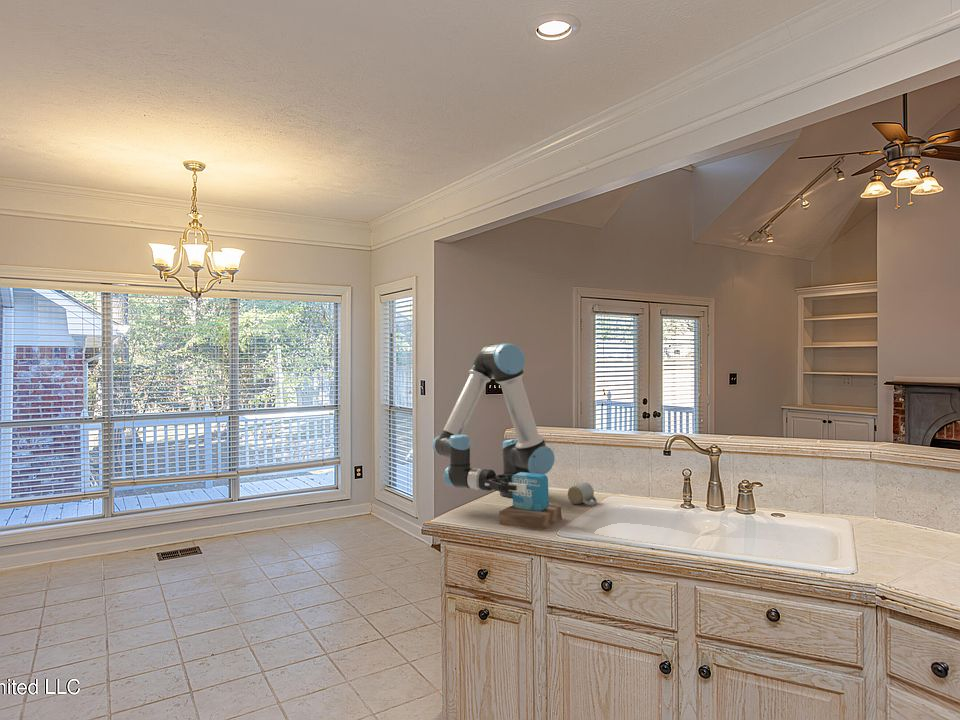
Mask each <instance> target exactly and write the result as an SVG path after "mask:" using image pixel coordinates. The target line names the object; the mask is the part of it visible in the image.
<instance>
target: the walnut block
mask: <svg viewBox="0 0 960 720" xmlns="http://www.w3.org/2000/svg"><path fill="white" fill-rule="evenodd" d="M498 515H499V525H501V524H502V525H503V526H510V527H516V528H522V529H529V530H530V529H531V530H538V531H543V530H545V529H547V528H548V527H550V526H552V525H554V524H555V523H557V522H558V521H560V520H561V519H562V505H554V504H549V506H548V508H546V509H544V510H543V511H532V510H524V509H517V508H515V507H514V506H513V504H512V505H509V506H508V507H506V508H504V509H501V510H499V514H498ZM502 525H501V526H502Z"/></svg>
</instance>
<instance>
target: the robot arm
mask: <svg viewBox="0 0 960 720" xmlns="http://www.w3.org/2000/svg"><path fill="white" fill-rule="evenodd" d="M525 360H526V358H525V354H524V351H523V350H522V349H521V348H520V347H519V346H517V345H516V344H512V343H509V342H508V343H506V342H503V343H492V344H488V345H486V346H484V347H483V348H482V349H480V350H479V352H478V353H477V355H476V357H475V358H474V360H473V362H472V363H471V366H470V368H469V370H468V373H469V375H468V377H467V380H466V382H465V384H464V386H463V388H462V390H461V392H460V394H459V396H458V399H457V401H456V403H455V405H454V407H453V408H452V411H451V413H450V416H449V417H448V419H447V422H446V423H445V426H444V428H443V430H442V431H441V434H440V435H437V436H436V437H434V439H433V441H432V449H433V451H434V452H435V453H436V454H437V455H439V456H442V457H445V458H449V463H450V464H449V466H447V467H446V468H445V469H444V473H443V481H444V484H445V485H446V486H450V487H454V488H460V489H461V488H462V489H471V490H474V491H477V492H478V490H482V491H492V490H494V491H496V492H499V494H500V496H502V497H505V496H506V498H512V497H513V495H512V491H514V492H523V493H526V492H527V491H526V484H518V483H512V476H513V475H515V474H517V473H520V472H525V473H536V474H545V475H547V474H548V473H549V472H550V471H551V470H552V469H553V466H554V465H555V459H556V457H555V453H554V451H553V450H552V448H551V447H549V446H547V445H546V441H545V438H544V436H542V435H540V434H539V431H538V428H537V424H536V422H535V418H534V414H533V411H532V409H531V405H530V402H529V398H528V395H527V392H526V389H525V386H524V382H523V376H524V374H525V373H524V367H525V366H524V365H525V364H526V361H525ZM492 378H493V379H494V381H495V383H497V384H499V385H500V387H501V390H502V394H503V397H504V401H505V403H506V408H507V409H508V413H509V416H510V420H511V422H512V425H513V426H512V427H513V429H514V432H515V436H516V438H513V439H506V440H504V441H503V442H502V462H503V463H502V464H503V465H502V466H503V467H502V469H503V471H502V472H503V473H502V474H496V472H495V471H494V469H488V468H487V469H486V468H477V467H471V443H470V437H469V435H467V434H463V432H464V431H465V429H466V427H467V425H468V423H469V420H470V418H471V417H472V414H473V412H474V409H475V408H476V406H477V404H478V402H479V400H480V397H481V396H482V393H483V391H484V389H485V387H486V385H487V383H490V382H491V381H492Z"/></svg>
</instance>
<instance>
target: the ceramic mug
mask: <svg viewBox="0 0 960 720" xmlns="http://www.w3.org/2000/svg"><path fill="white" fill-rule="evenodd" d="M594 492H595V491H594V488H593V487H592V485H591V484H590V483H589V482H588V481H581V482H579V483H576V484H574V485H572V486H571V487H569V488H568V491H567V497H568V500H569V501H570V502H571V503H572V504H573V505H581V504H585V505H587V506H591V507H593V505H594V506H596V505H597V503H598V502H597V501H598V500H597V498H596V497H595V496H594V495H595V493H594ZM595 504H596V505H595Z"/></svg>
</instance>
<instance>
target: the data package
mask: <svg viewBox="0 0 960 720" xmlns="http://www.w3.org/2000/svg"><path fill="white" fill-rule="evenodd" d="M512 483H518V484H526V491H527V492H526V493H523V492H514V491H512V495H513V498H512V505H513V506H514V507H515V508H517V509H524V510H532V511H543V510H544V509H546V508H548V506H549V505H550V495H549V493H550V492H549V477H548V475H547V474H536V473H525V472H520V473H517V474H515V475H513V476H512Z"/></svg>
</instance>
